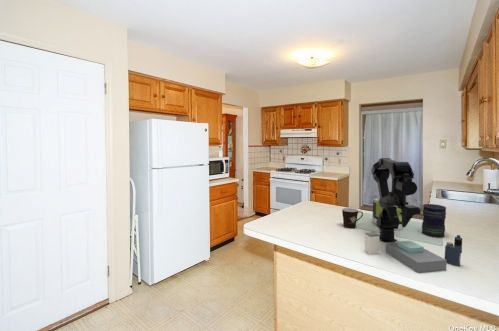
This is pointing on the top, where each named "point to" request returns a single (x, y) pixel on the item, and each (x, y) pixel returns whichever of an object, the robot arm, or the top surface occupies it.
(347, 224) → the coffee mug
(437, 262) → the socket
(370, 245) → the grey tall block
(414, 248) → the teal rectangular block
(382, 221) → the robot arm
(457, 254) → the vaping device
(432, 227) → the storage jar
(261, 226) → the top surface
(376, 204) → the tea box
